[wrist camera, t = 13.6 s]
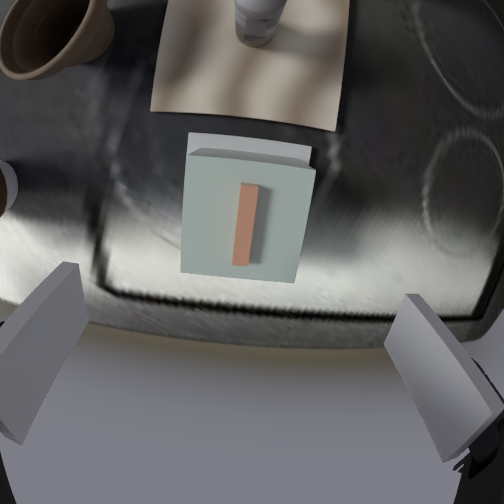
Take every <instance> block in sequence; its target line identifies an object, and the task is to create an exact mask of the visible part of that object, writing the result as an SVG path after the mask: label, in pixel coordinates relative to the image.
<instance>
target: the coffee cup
mask: <svg viewBox="0 0 504 504" xmlns="http://www.w3.org/2000/svg"><path fill="white" fill-rule="evenodd" d="M17 193H18V181H17V175H16V173H15V171H14V169H13V168H12V167H11V166H10V165H9V164H8V163H6V162H3V161H0V217H1V216H2V215H3V213H4V212H6V211H7V210H8V209H9V208H10V207H11V206H12V205H13V203H14V201H15V199H16V196H17Z"/></svg>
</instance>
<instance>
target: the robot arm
mask: <svg viewBox="0 0 504 504" xmlns="http://www.w3.org/2000/svg"><path fill="white" fill-rule="evenodd" d="M88 322H89V319H88V314H87V309H86V304H85V299H84V294H83V288H82V282H81V276H80V270H79V264H77V263H70V262H62V263H61V264H60V265H59V266H58V267H57V268H56V269H55V270H54V271H53V272H52V273H51V274H50V275H49V276H48V277H47V278H46V279H45V280H44V281H43V282H42V283H41V284H40V285H39V286H38V287H37V288H36V289H35V290H34V291H33V292H32V293H31V294H30V295H29V296H28V297H27V298H26V299H25V300H24V301H23V303H22V304H21V305H20V306H19V307H18V308H17V309H16V310H15V311H14V312H13V314H12V315H11V316H10V317H9V318H8V319H7V320H6V322H4V321H2V322H1V323H0V432H1V433H2V434H3V435H4V436H5V437H6V438H8V439H10V440H12V441H14V442H16V443H18V444H20V445H22V444H23V442H24V440H25V438H26V436H27V433H28V431H29V429H30V427H31V425H32V422H33V420H34V418H35V416H36V414H37V412H38V410H39V408H40V406H41V404H42V402H43V400H44V398H45V396H46V394H47V393H48V391H49V389H50V387H51V385H52V383H53V381H54V379H55V377H56V375H57V374H58V372H59V370H60V368H61V367H62V365H63V363H64V361H65V360H66V358H67V356H68V355H69V353H70V351H71V349H72V348H73V346H74V344H75V343H76V341H77V339H78V338H79V336H80V334H81V333H82V331H83V330H84V328H85V326H86V325H87V323H88ZM384 346H385V348H386V350H387V351H388V353H389V355H390V357H391V359H392V360H393V362H394V364H395V366H396V368H397V370H398V372H399V373H400V375H401V377H402V379H403V381H404V383H405V385H406V387H407V388H408V391H409V393H410V395H411V397H412V399H413V400H414V402H415V404H416V406H417V408H418V410H419V413H420V414H421V417H422V419H423V421H424V423H425V424H426V427H427V429H428V431H429V433H430V435H431V438H432V440H433V442H434V444H435V446H436V449H437V451H438V453H439V455H440V457H441V460H442V462H443V463H444V462H446V461H449V460H451V459H454V458H456V457H458V456H459V455H460V454H461V453H462V452H464V451H465V450H466V449H467V448H469V450H470V453H469V454H467V455H466V456H465V457H464V458H463V459H462V460H461V461H460V462H458V463H457V464H456V465H455V466H454V468H453V470H454V471H455V470H456V469H458V468H459V467H460V466H461V465H462V464H464V466H463V467H462V468H460V470H459V471H458V472H460V473H462V475H461V479H460V482H459V486H458V490H457V494H456V497H455V500H454V504H504V399H503V398H502V396H501V395H500V394H499V392H498V390H497V389H496V388H495V386H494V385H493V383H492V382H490V379H489V378H488V376H487V375H486V374H484V371H483V369H482V368H481V367H480V365H479V364H478V363H477V362H476V361H475V360H474V359H472V358H471V357H470V356H469V355H468V353H467V352H466V351H465V349H464V348H463V347H462V346H461V344H460V343H459V342H458V340H457V339H456V338H455V337H454V335H453V334H452V333H451V332H450V330H449V329H448V328H447V327H446V325H445V324H444V323H443V322H442V321H441V319H440V318H439V317H438V316H437V315H436V313H435V312H434V311H433V310H432V309H431V308H430V306H429V305H428V304H427V303H426V302H425V301H424V299H423V298H422V297H421V296H420V295H419V294H405V296H404V298H403V301H402V303H401V306H400V308H399V311H398V313H397V315H396V318H395V320H394V322H393V325H392V327H391V329H390V331H389V334H388V336H387V338H386V340H385V342H384ZM0 504H16V501H15V499H14V496H13V493H12V490H11V487H10V485H9V481H8V478H7V475H6V471H5V468H4V465H3V461H2V457H1V453H0Z"/></svg>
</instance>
